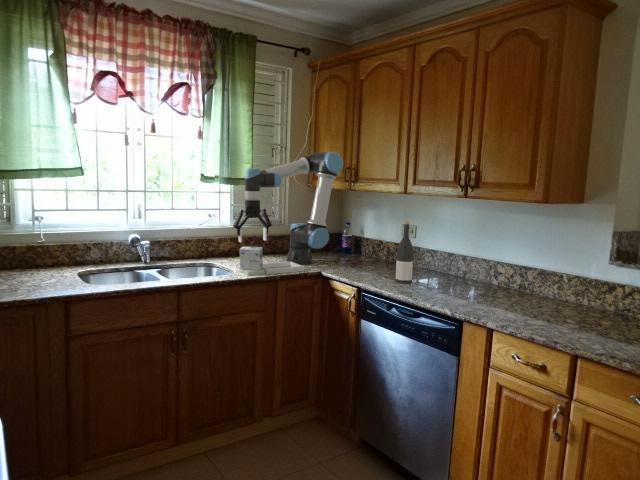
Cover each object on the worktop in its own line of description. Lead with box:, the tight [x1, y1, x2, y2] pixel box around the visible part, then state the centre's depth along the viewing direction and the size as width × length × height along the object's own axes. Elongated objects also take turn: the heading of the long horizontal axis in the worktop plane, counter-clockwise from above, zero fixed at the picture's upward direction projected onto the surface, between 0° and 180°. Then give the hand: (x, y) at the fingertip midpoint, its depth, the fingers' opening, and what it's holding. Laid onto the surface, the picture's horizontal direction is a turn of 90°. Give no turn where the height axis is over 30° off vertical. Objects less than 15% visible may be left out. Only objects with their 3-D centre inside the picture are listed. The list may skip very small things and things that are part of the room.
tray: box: [261, 261, 305, 275], centre depth 262 cm, size 22×16×2 cm
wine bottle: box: [395, 220, 414, 285], centre depth 240 cm, size 8×8×30 cm
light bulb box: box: [239, 246, 264, 270], centre depth 251 cm, size 11×7×11 cm, turn 84°
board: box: [238, 266, 265, 276], centre depth 252 cm, size 9×12×2 cm
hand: (252, 241), depth 250 cm, fingers open, 13 cm apart
